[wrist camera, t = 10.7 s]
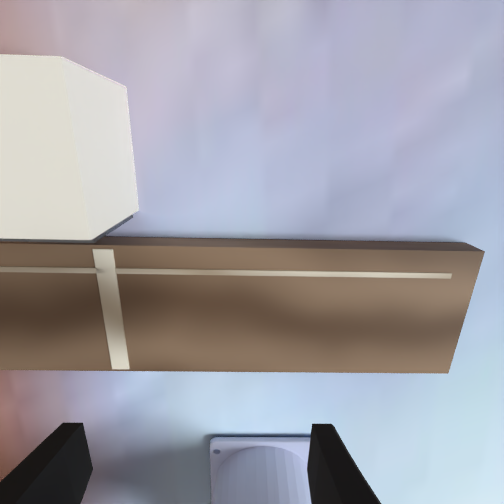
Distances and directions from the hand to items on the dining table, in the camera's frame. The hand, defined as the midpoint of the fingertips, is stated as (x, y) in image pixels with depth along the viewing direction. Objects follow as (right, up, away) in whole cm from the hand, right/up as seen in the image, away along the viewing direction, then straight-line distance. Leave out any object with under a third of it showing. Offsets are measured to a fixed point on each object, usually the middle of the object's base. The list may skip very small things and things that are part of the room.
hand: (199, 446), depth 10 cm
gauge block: (-7, +11, +6) cm, 15 cm away
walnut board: (-1, +3, +9) cm, 9 cm away
